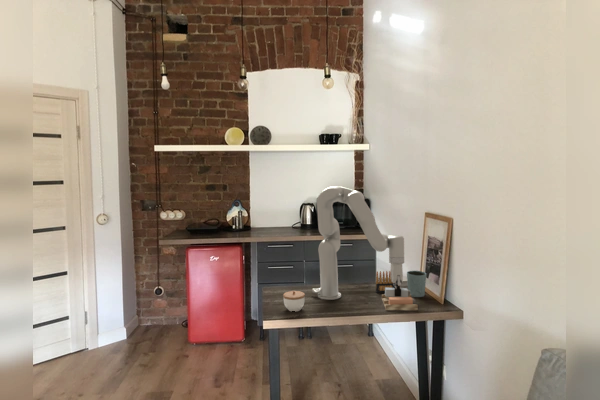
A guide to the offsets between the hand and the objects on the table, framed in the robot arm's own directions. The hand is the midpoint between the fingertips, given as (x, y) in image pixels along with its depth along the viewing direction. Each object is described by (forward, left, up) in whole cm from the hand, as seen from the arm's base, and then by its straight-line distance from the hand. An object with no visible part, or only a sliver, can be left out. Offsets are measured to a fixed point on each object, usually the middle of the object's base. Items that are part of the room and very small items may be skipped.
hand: (397, 294), depth 193 cm
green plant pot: (+12, +11, -4) cm, 17 cm away
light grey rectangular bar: (0, 0, -1) cm, 1 cm away
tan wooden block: (0, -9, -3) cm, 9 cm away
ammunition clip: (-4, +16, -4) cm, 17 cm away
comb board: (0, -5, -4) cm, 6 cm away
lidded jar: (-52, -12, -4) cm, 54 cm away
